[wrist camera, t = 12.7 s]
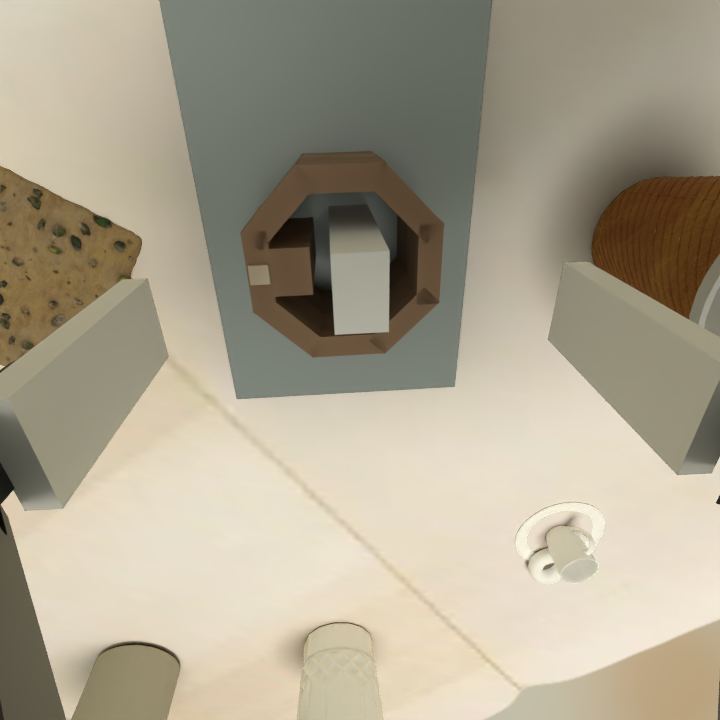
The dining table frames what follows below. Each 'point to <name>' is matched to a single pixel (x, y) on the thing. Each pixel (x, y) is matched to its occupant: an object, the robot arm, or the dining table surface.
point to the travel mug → (129, 685)
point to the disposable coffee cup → (666, 244)
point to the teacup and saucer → (563, 547)
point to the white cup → (339, 676)
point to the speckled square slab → (52, 262)
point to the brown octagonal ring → (298, 255)
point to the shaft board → (325, 135)
